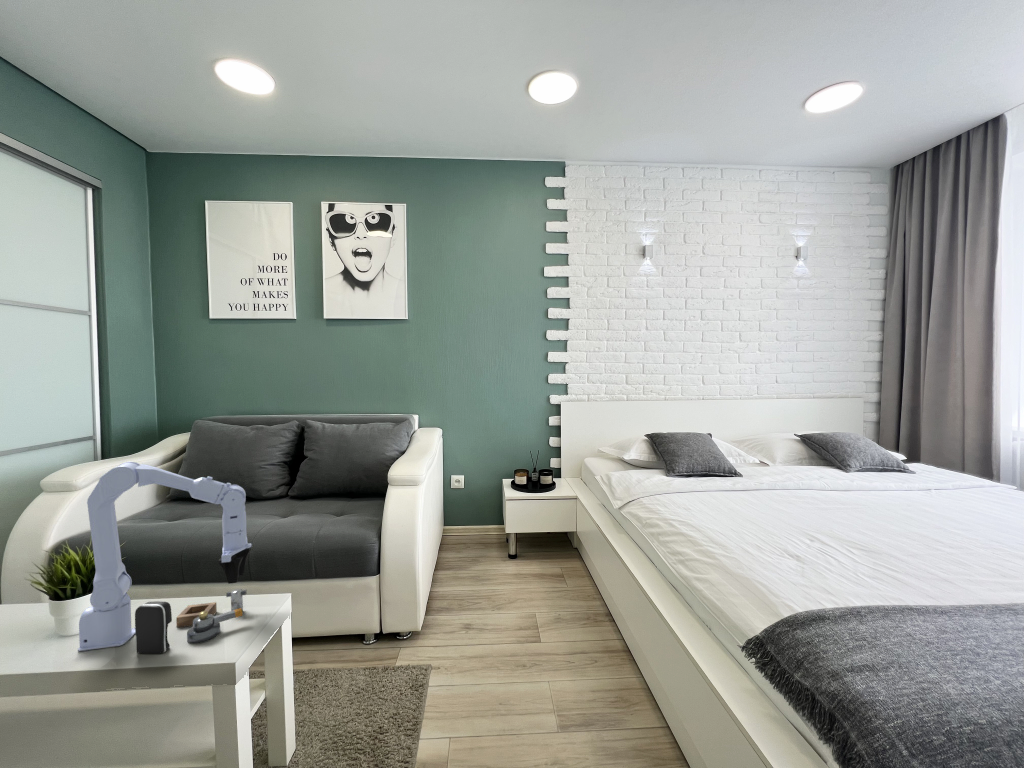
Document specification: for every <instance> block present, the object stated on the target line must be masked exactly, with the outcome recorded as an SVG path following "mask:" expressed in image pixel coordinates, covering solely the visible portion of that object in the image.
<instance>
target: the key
mask: <svg viewBox="0 0 1024 768" xmlns="http://www.w3.org/2000/svg"><path fill="white" fill-rule="evenodd" d="M247 593H248V590H247V589H243V588H242V589H241V588H236V589H233V590H231V591H227V592H226V598H230V611H233V610H236V609H239V608H241V609H242V613H243V612H244V603H243V602H244V601H243V600H244V599H243V598H244V597H243V596H246V595H247Z"/></svg>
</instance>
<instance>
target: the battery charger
mask: <svg viewBox="0 0 1024 768" xmlns="http://www.w3.org/2000/svg"><path fill="white" fill-rule="evenodd" d="M172 615H173V614H172V607H171V604H170V603H169V602H167V601H158V600H157V601H148V602H145V603H144V604H141V605H139V606H138V607H137V608H136V609H135V611H134V626H135V627H134V628H135V631H136V633H135V640H136V641H135V643H136V646H135V647H136V653H137V654H140V655H141V654H142V655H143V654H144V655H154V654H155V655H156V654H157V655H159V654H163V653H165V652H166V651H168V650H169V648H170V643H169V640H168V627H169V624H170V623H172V620H173V619H172V617H173V616H172Z"/></svg>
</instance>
